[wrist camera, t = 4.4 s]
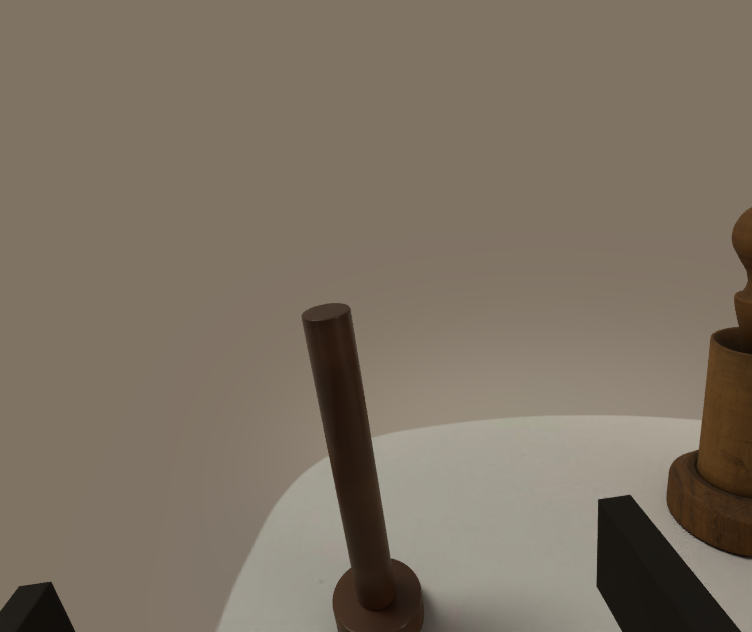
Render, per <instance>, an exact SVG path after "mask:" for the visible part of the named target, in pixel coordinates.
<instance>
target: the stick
mask: <svg viewBox="0 0 752 632" xmlns="http://www.w3.org/2000/svg"><path fill="white" fill-rule="evenodd" d="M302 322H303V326H304V332H305V336H306V342H307V347H308V352H309V357H310V361H311V367H312V372H313V377H314V382H315V387H316V392H317V397H318V402H319V407H320V412H321V417H322V422H323V427H324V432H325V437H326V443H327V448H328V453H329V458H330V463H331V468H332V473H333V478H334V483H335V488H336V493H337V498H338V503H339V508H340V513H341V518H342V523H343V528H344V533H345V538H346V543H347V548H348V553H349V558H350V563H351V568H350V569H349V570H348V571H347V572H346V573H345V574H344V575H343V576H342V577H341V579H340V580H339V582H338V583H337V585H336V588H335V590H334V594H333V601H332V602H333V611H334V615H335V620H336V624H337V629H338V632H419V631H420V629H421V627H422V624H423V619H424V606H423V599H422V592H421V586H420V582H419V580H418V578H417V576H416V574H415V573H414V572H413V571H412V569H410V568H409V567H408V566H407V565H405V564H404V563H402V562H400V561H398V560H395V559H391V558H390V551H389V545H388V539H387V533H386V527H385V520H384V514H383V508H382V502H381V496H380V489H379V483H378V477H377V471H376V465H375V458H374V452H373V446H372V440H371V434H370V427H369V421H368V415H367V409H366V403H365V396H364V390H363V384H362V378H361V371H360V365H359V360H358V353H357V347H356V341H355V334H354V328H353V322H352V316H351V309H350V307H349V306H348V305H346V304H340V303H331V304H324V305H320V306H316V307H313V308H310V309H309V310H306V311H305V312H304V313H303V314H302Z"/></svg>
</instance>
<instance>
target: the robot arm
mask: <svg viewBox="0 0 752 632" xmlns="http://www.w3.org/2000/svg"><path fill="white" fill-rule="evenodd" d="M597 588H598V589H599V591H600V593H601V595H602V597H603V598H604V600H605V602H606V604H607V605H608V607H609V609H610V611H611V612H612V614H613V616H614V618H615V620H616V621H617V623H618V625H619V627H620V628H621V630H622V632H741V631H740V630H739V628H738V627H737V626H736V625H735V624H734V622H733V621H732V620H731V619H730V617H729V616H728V615H727V614H726V612H725V611H724V610H723V609H722V608H721V606H720V605H719V604H718V603H717V601H716V600H715V599H714V598H713V596H712V595H711V594H710V593H709V591H708V590H707V589H706V588H705V587H704V585H703V584H702V583H701V582H700V580H699V579H698V578H697V577H696V575H695V574H694V573H693V572H692V570H691V569H690V568H689V567H688V566H687V564H686V563H685V562H684V561H683V559H682V558H681V557H680V556H679V554H678V553H677V552H676V551H675V550H674V548H673V547H672V546H671V545H670V543H669V542H668V541H667V540H666V538H665V537H664V536H663V535H662V533H661V532H660V531H659V530H658V529H657V527H656V526H655V525H654V524H653V522H652V521H651V520H650V519H649V517H648V516H647V515H646V514H645V512H644V511H643V510H642V509H641V508H640V506H639V505H638V504H637V503H636V501H635V500H634V499H633V498H632V496H631V495H625V496H619V497H612V498H605V499H599V500H598V542H597ZM0 632H75V630H74V628H73V626H72V624H71V622H70V620H69V618H68V616H67V613H66V612H65V609H64V607H63V605H62V603H61V601H60V599H59V597H58V595H57V593H56V591H55V589H54V587H53V584H52V583H51V582H46V583H39V584H32V585H25V586H19V587H18V589H17V590H16V591H15V593H14V594H13V595H12V597H11V598H10V599H9V601H8V602H7V603H6V604H5V606H4V607H3V608H2V610H1V611H0Z"/></svg>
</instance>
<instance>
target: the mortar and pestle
mask: <svg viewBox="0 0 752 632" xmlns="http://www.w3.org/2000/svg"><path fill="white" fill-rule="evenodd" d="M732 243H733V247H734V249H735V251H736V253H737V255H738V257H739V258H740V260H741V262H742V263H743V265H744V267H745V269H746V271H747V276H748V283H747V285H746V287H745V288H744V290H743V291H739V292H737V293H736V294H735V295H734V303H735V310H736V315H737V320H738V324H739V327H732V328H726V329H722V330H719V331H716V332H715V333H713V334H712V335H711V339H710V349H709V360H708V369H707V379H706V380H707V381H706V389H705V399H704V409H703V418H702V426H701V435H700V444H699V450H696V451H694V452H689V453H686V454H684V455H682V456H680V457H678V458H677V459H676V460H675V461H674V462H673V463H672V465H671V467H670V470H669V476H668V486H667V505H668V508H669V511H670V512H671V514H672V515H673V517H674V518H675V519H676V521H677V522H678V523H679V524H680V525H682V526H683V527H684V528H685V529H686V530H687V531H689V532H690V533H692V534H693V535H694V536H696V537H697V538H699V539H701V540H703V541H704V542H706V543H708V544H710V545H713V546H715V547H717V548H720V549H723V550H726V551H728V552H732V553H735V554H739V555H744V556H752V208H750V209H748V210H747V211H746V212H745V213H743V214H742V215H741V216H740V218H739V219H738V221H737V222H736V224H735V226H734V228H733V232H732Z"/></svg>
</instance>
